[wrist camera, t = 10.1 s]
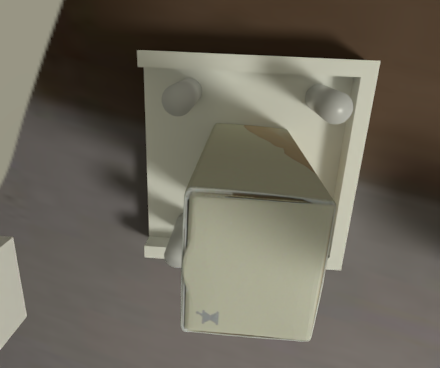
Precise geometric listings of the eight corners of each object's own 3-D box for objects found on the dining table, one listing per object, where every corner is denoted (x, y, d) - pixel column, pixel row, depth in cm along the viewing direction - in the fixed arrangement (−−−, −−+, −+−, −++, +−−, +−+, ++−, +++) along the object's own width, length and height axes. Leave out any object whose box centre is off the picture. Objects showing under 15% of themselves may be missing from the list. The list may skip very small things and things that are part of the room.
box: (277, 209, 22) (311, 354, 11) (207, 203, 22) (176, 340, 11) (289, 123, 20) (342, 202, 9) (212, 117, 20) (181, 188, 10)
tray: (153, 239, 24) (131, 285, 19) (147, 50, 20) (118, 49, 15) (332, 251, 24) (354, 300, 19) (365, 59, 19) (405, 62, 15)
